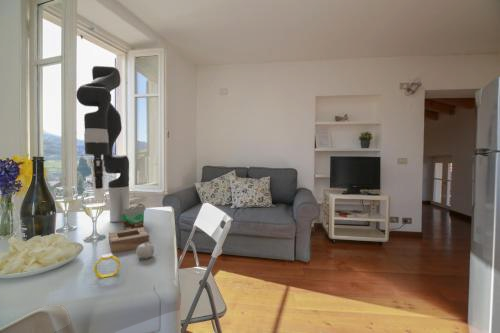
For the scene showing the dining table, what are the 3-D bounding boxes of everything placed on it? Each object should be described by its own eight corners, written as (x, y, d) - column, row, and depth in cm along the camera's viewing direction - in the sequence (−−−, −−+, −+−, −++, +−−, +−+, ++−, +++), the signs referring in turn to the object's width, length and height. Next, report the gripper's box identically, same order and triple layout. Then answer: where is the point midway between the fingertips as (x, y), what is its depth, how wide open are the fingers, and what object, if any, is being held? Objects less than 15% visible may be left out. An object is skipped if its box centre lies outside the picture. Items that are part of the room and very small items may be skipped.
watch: (120, 273, 69) (120, 252, 69) (118, 277, 66) (119, 256, 66) (95, 275, 67) (96, 254, 66) (93, 280, 64) (93, 258, 64)
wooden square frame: (109, 243, 92) (108, 232, 92) (143, 236, 98) (142, 226, 98) (111, 253, 82) (111, 242, 82) (149, 245, 88) (148, 234, 88)
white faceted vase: (95, 201, 87) (93, 160, 87) (89, 200, 90) (87, 160, 89) (108, 199, 91) (107, 160, 91) (102, 198, 94) (101, 159, 93)
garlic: (159, 255, 79) (158, 240, 79) (145, 262, 75) (144, 246, 74) (146, 252, 82) (145, 237, 82) (132, 259, 77) (131, 243, 77)
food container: (134, 232, 103) (133, 209, 103) (122, 232, 105) (121, 209, 104) (151, 224, 115) (151, 203, 115) (140, 224, 117) (139, 203, 116)
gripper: (85, 142, 94) (87, 186, 94) (83, 140, 82) (86, 190, 82) (107, 142, 98) (109, 184, 99) (109, 140, 86) (111, 188, 87)
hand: (99, 187), depth 91 cm, fingers closed on white faceted vase, 4 cm apart
